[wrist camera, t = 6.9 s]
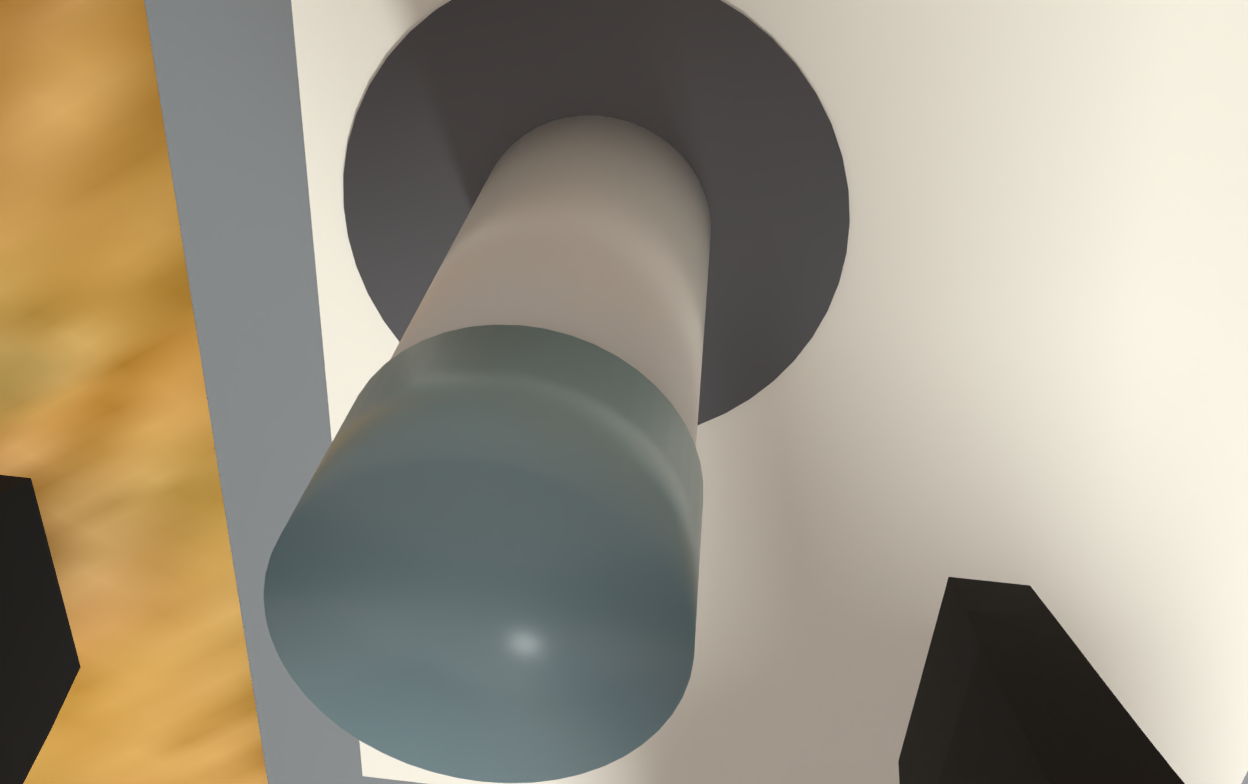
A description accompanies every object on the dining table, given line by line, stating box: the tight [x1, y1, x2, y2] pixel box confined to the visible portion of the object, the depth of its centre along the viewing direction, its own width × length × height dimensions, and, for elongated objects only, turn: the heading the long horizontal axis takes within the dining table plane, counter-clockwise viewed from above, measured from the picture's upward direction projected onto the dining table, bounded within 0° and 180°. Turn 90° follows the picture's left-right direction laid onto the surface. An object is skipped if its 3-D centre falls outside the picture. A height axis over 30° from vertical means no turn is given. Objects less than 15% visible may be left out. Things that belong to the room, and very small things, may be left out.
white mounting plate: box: [144, 0, 1248, 784], centre depth 17 cm, size 22×20×1 cm
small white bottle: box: [264, 115, 711, 783], centre depth 12 cm, size 3×3×8 cm
